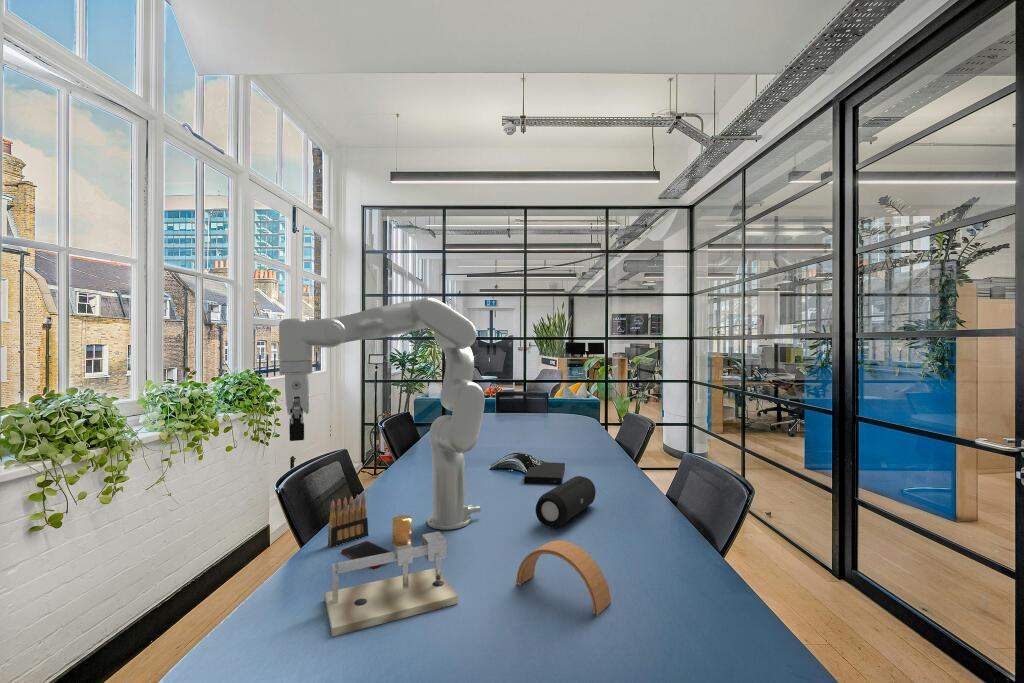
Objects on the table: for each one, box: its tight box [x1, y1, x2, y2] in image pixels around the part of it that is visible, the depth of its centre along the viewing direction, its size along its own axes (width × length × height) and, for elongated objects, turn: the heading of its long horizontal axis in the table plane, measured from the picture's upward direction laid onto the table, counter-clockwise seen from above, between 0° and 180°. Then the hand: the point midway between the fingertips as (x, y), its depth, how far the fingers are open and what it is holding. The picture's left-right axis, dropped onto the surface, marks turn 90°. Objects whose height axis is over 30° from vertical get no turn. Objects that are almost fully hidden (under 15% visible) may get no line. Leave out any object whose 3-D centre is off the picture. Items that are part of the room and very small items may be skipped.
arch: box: [515, 540, 612, 616], centre depth 100 cm, size 6×20×10 cm, turn 51°
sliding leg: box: [391, 514, 414, 589], centre depth 101 cm, size 4×5×14 cm
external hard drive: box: [523, 461, 566, 486], centre depth 191 cm, size 14×23×3 cm, turn 171°
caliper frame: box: [331, 531, 447, 603], centre depth 100 cm, size 23×6×9 cm, turn 116°
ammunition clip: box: [327, 492, 369, 548], centre depth 129 cm, size 11×2×12 cm, turn 135°
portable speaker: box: [535, 475, 597, 529], centre depth 146 cm, size 26×10×10 cm, turn 148°
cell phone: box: [341, 540, 392, 570], centre depth 119 cm, size 8×15×1 cm, turn 50°
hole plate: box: [324, 567, 459, 637], centre depth 98 cm, size 24×14×2 cm, turn 116°
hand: (296, 436), depth 118 cm, fingers open, 9 cm apart
